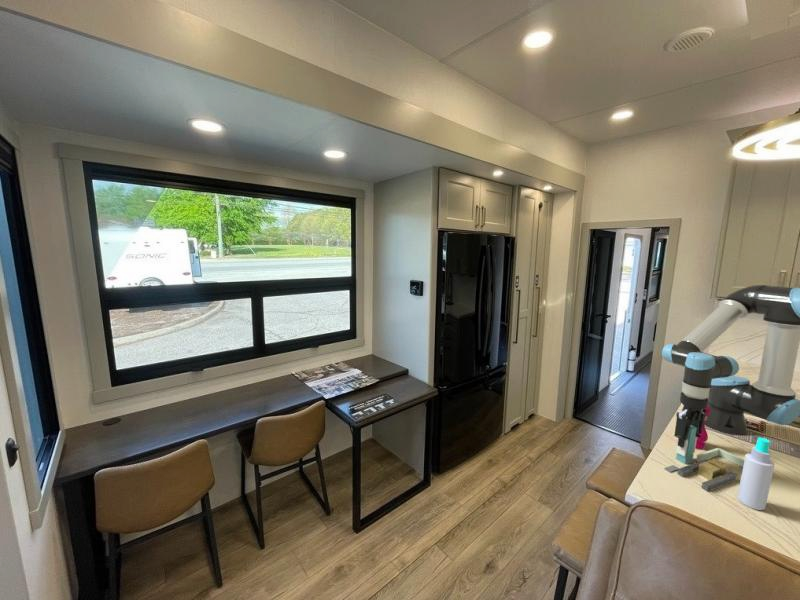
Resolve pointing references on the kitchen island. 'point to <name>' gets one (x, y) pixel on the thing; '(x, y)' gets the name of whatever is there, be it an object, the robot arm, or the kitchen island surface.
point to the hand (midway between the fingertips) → (685, 452)
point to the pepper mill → (703, 434)
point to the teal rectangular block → (688, 447)
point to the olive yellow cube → (708, 470)
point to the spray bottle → (756, 476)
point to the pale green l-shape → (721, 453)
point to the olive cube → (720, 466)
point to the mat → (671, 468)
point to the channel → (710, 483)
